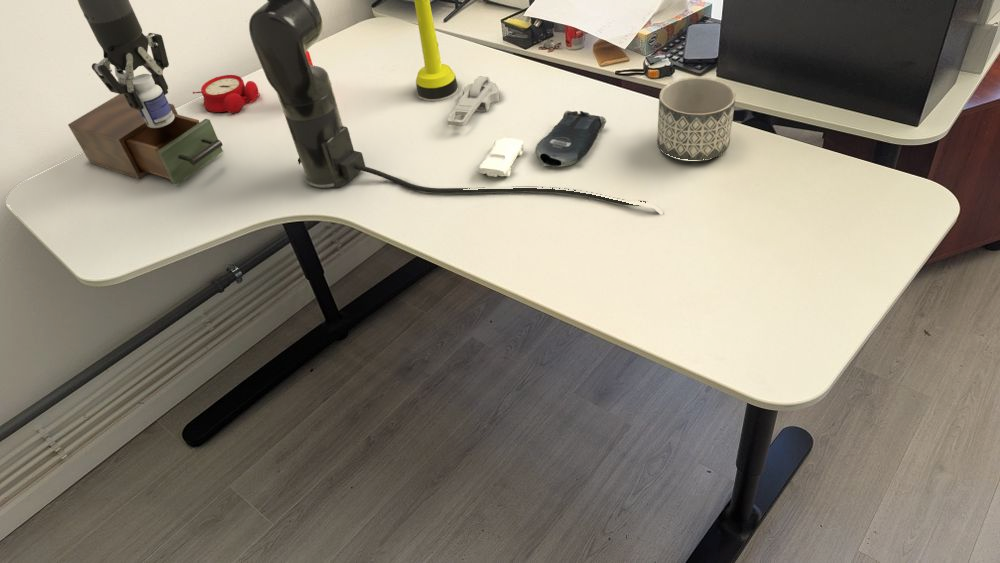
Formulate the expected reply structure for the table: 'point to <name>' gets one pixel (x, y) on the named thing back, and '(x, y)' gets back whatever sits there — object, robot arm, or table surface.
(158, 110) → the pill bottle
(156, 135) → the drawer
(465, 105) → the zipper pull
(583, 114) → the electronic device
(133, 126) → the cabinet
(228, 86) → the alarm clock
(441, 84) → the flashlight
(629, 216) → the table surface
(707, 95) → the planter
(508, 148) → the toy car
